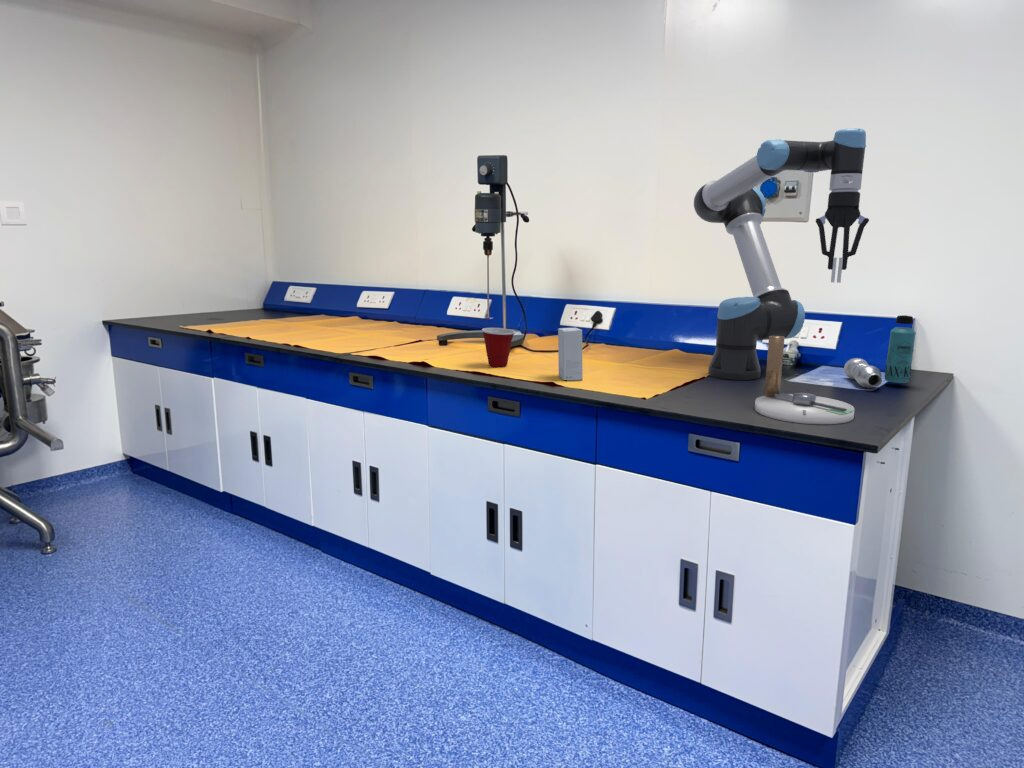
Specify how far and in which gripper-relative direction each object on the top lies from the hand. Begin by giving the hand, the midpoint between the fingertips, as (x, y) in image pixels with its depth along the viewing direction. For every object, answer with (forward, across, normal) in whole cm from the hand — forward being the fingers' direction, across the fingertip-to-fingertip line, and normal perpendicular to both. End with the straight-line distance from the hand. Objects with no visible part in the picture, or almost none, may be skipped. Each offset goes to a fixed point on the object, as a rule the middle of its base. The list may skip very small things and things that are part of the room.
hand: (835, 282), depth 188 cm
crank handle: (+27, -6, -31) cm, 42 cm away
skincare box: (+30, -70, -13) cm, 77 cm away
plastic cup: (+30, -97, -3) cm, 101 cm away
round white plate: (+29, -6, -31) cm, 43 cm away
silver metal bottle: (+26, +8, +20) cm, 34 cm away
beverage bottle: (+30, +19, +12) cm, 37 cm away
